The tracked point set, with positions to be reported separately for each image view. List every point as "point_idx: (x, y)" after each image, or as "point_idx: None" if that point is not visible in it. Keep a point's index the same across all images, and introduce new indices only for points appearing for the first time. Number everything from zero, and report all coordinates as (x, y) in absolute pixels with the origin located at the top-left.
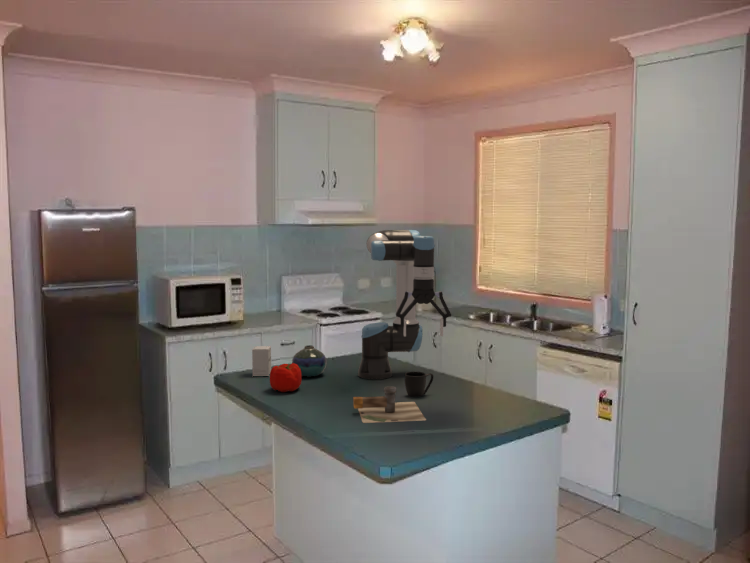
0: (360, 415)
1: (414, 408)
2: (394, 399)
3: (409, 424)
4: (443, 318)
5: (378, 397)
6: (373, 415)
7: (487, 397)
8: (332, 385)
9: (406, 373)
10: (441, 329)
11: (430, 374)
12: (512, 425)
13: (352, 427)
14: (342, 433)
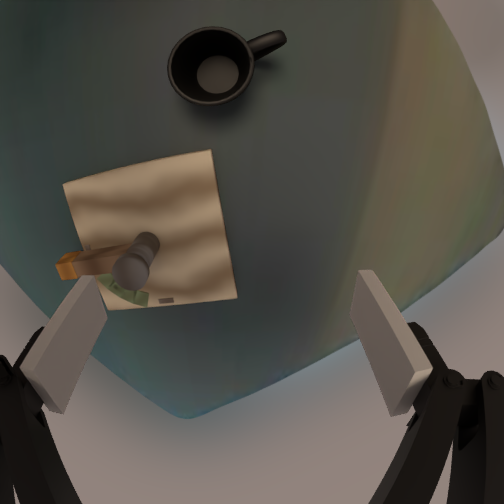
0: None
1: (209, 214)
2: (150, 265)
3: None
4: (416, 402)
5: (108, 265)
6: None
7: (425, 92)
8: (10, 14)
9: (173, 55)
10: (366, 347)
11: (275, 43)
12: (405, 295)
13: None
14: None
